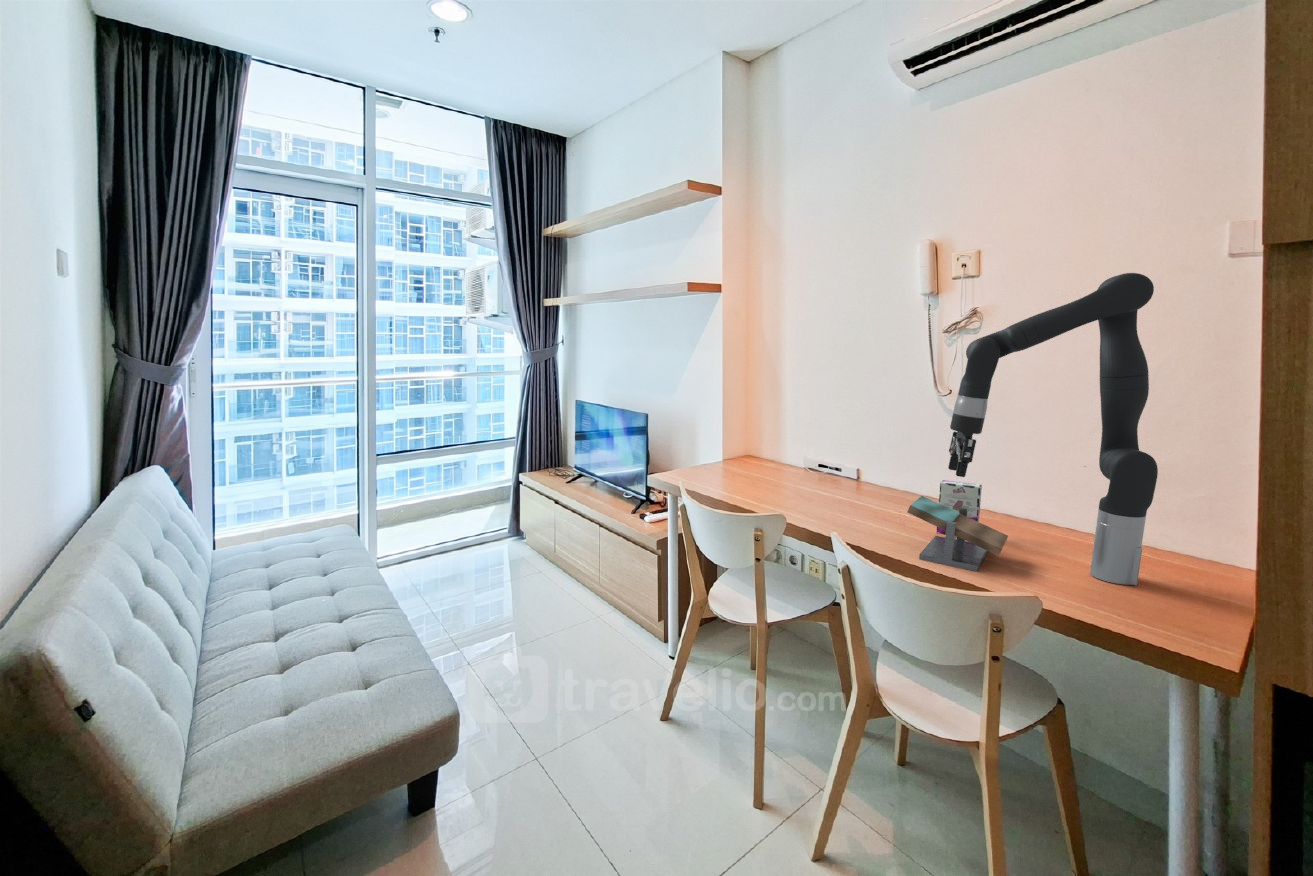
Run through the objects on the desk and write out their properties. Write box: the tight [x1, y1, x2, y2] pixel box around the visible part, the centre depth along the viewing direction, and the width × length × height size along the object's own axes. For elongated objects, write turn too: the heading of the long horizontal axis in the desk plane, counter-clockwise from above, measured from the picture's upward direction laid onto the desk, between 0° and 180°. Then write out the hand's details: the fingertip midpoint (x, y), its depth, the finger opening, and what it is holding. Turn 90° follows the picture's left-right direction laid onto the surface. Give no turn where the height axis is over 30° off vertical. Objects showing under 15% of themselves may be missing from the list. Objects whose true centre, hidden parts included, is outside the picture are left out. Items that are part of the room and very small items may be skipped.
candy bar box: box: [936, 479, 983, 537], centre depth 176 cm, size 11×5×16 cm, turn 55°
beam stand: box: [918, 507, 989, 572], centre depth 158 cm, size 14×20×12 cm
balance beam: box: [907, 495, 1009, 556], centre depth 158 cm, size 24×15×2 cm, turn 55°
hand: (956, 473), depth 153 cm, fingers open, 8 cm apart
